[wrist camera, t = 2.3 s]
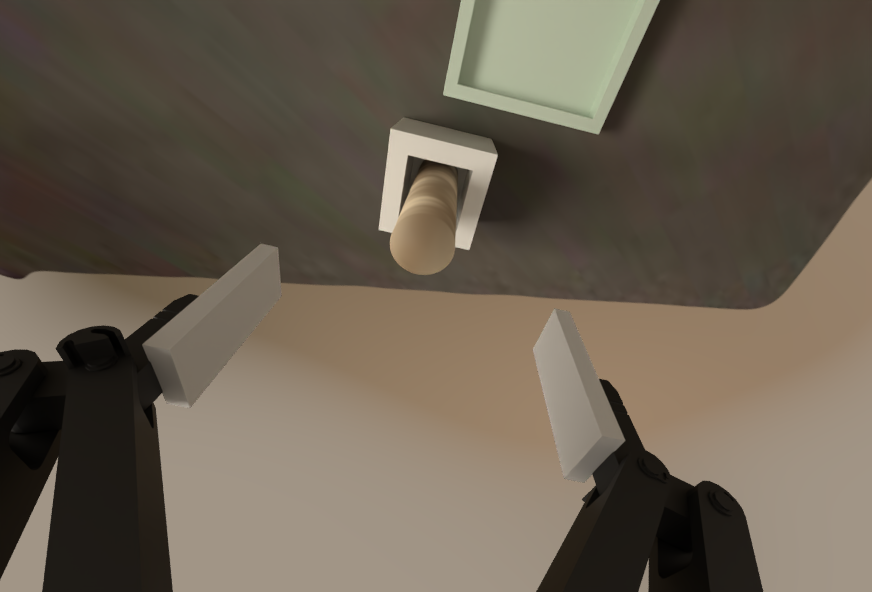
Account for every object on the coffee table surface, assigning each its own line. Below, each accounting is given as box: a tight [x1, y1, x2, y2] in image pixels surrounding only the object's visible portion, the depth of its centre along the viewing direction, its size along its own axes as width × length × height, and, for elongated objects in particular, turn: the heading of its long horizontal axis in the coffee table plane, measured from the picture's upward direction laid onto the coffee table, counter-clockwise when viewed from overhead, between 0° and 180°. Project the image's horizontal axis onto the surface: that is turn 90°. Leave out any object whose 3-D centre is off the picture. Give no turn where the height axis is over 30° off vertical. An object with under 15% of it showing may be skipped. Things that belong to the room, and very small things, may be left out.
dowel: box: [390, 159, 458, 275], centre depth 27 cm, size 4×4×16 cm
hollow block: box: [379, 117, 498, 250], centre depth 31 cm, size 9×9×7 cm
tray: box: [443, 0, 660, 135], centre depth 26 cm, size 14×12×2 cm
